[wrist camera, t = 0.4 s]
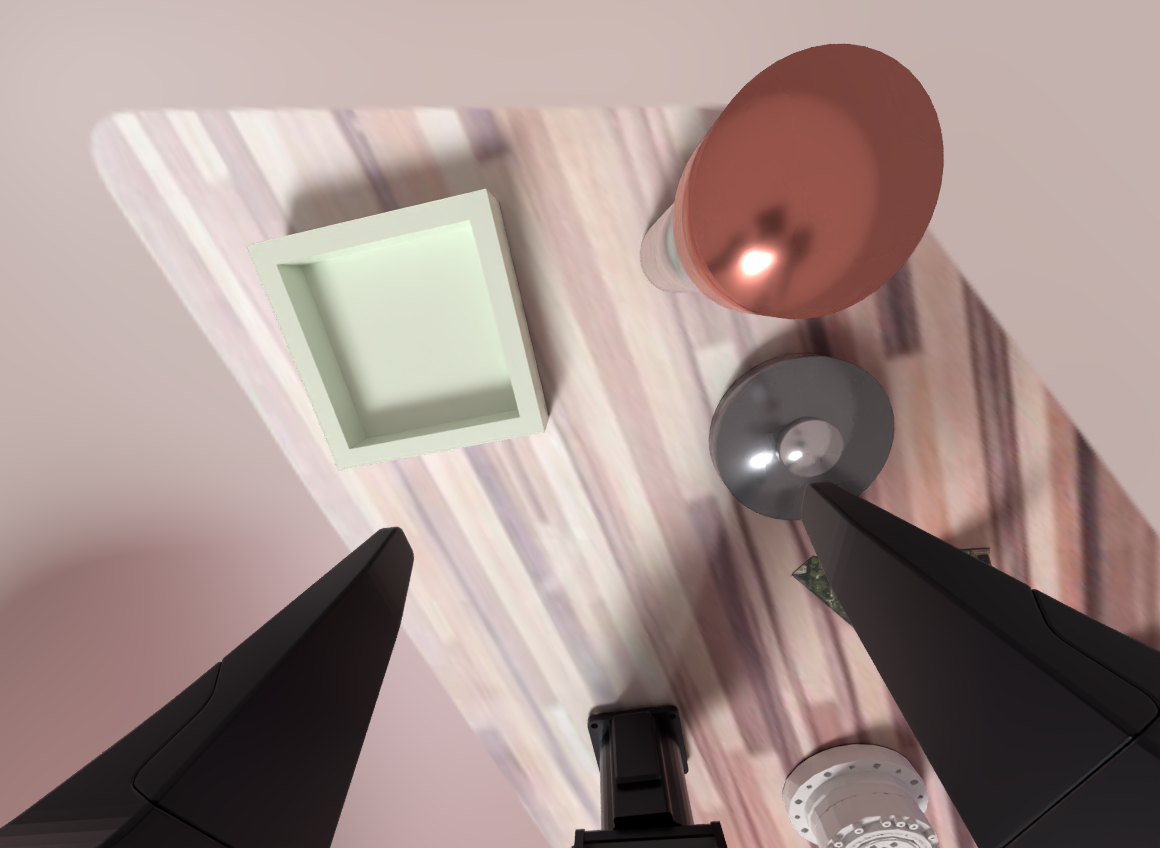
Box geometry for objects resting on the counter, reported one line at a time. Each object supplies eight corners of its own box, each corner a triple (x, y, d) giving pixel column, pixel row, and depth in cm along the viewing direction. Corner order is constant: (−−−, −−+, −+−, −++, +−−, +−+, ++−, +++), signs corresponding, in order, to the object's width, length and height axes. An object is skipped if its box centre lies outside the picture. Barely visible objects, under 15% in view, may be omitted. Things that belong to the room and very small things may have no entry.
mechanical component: (798, 733, 30) (767, 821, 33) (832, 805, 26) (792, 898, 29) (933, 745, 30) (889, 832, 33) (988, 819, 26) (932, 910, 29)
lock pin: (728, 292, 21) (936, 294, 8) (637, 311, 21) (706, 338, 9) (719, 191, 19) (951, 12, 7) (622, 213, 20) (678, 80, 7)
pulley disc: (873, 492, 24) (902, 513, 22) (717, 517, 25) (729, 540, 22) (876, 337, 21) (909, 343, 19) (700, 371, 22) (713, 379, 20)
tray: (549, 417, 23) (544, 432, 20) (363, 452, 24) (338, 470, 21) (498, 201, 20) (485, 188, 17) (285, 250, 20) (245, 245, 18)
